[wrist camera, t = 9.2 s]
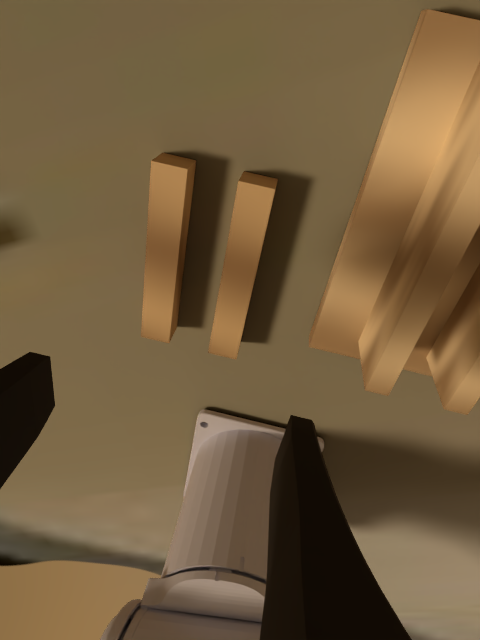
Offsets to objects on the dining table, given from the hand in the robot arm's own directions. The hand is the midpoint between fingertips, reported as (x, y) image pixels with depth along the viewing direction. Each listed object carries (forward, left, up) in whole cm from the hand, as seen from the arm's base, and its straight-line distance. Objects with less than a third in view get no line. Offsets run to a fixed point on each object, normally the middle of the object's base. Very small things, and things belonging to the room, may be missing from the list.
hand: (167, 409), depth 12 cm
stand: (0, +1, -10) cm, 10 cm away
